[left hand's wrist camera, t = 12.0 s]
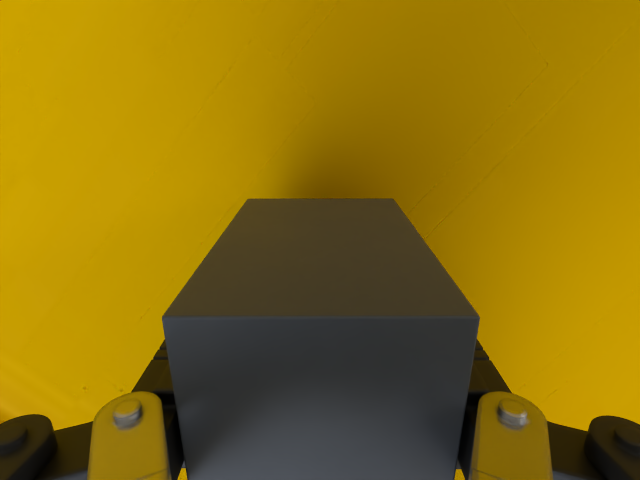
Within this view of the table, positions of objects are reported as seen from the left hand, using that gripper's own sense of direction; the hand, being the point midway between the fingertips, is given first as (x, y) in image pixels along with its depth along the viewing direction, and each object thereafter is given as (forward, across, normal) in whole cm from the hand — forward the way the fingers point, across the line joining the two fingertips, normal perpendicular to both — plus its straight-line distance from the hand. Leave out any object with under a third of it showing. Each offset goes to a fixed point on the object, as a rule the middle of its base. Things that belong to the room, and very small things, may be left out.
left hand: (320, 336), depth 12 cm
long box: (+5, 0, +11) cm, 12 cm away
